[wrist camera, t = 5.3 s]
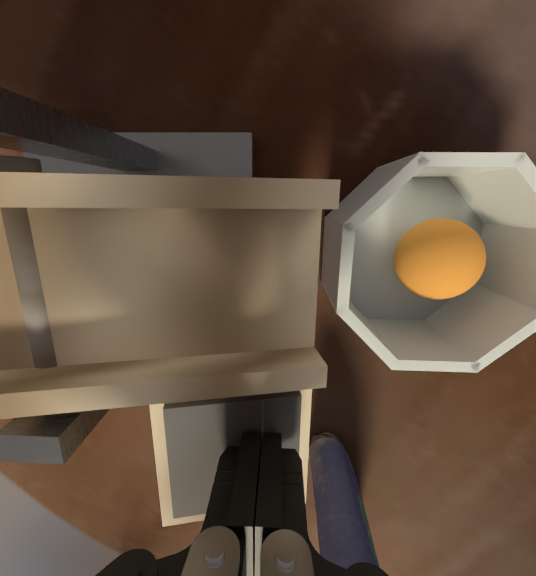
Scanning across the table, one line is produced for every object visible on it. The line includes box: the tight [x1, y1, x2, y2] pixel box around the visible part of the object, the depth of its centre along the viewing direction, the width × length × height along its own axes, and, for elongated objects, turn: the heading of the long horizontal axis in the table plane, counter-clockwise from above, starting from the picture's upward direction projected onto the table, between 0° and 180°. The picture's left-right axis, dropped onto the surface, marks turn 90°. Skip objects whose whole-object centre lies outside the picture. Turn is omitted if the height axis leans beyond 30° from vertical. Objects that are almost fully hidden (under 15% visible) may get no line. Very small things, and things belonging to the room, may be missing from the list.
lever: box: [0, 155, 341, 527], centre depth 10 cm, size 18×14×3 cm
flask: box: [309, 432, 379, 569], centre depth 17 cm, size 9×3×11 cm, turn 15°
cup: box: [321, 152, 536, 373], centre depth 15 cm, size 9×9×6 cm
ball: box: [394, 218, 486, 300], centre depth 15 cm, size 4×4×4 cm
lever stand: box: [0, 87, 254, 464], centre depth 13 cm, size 12×12×11 cm
